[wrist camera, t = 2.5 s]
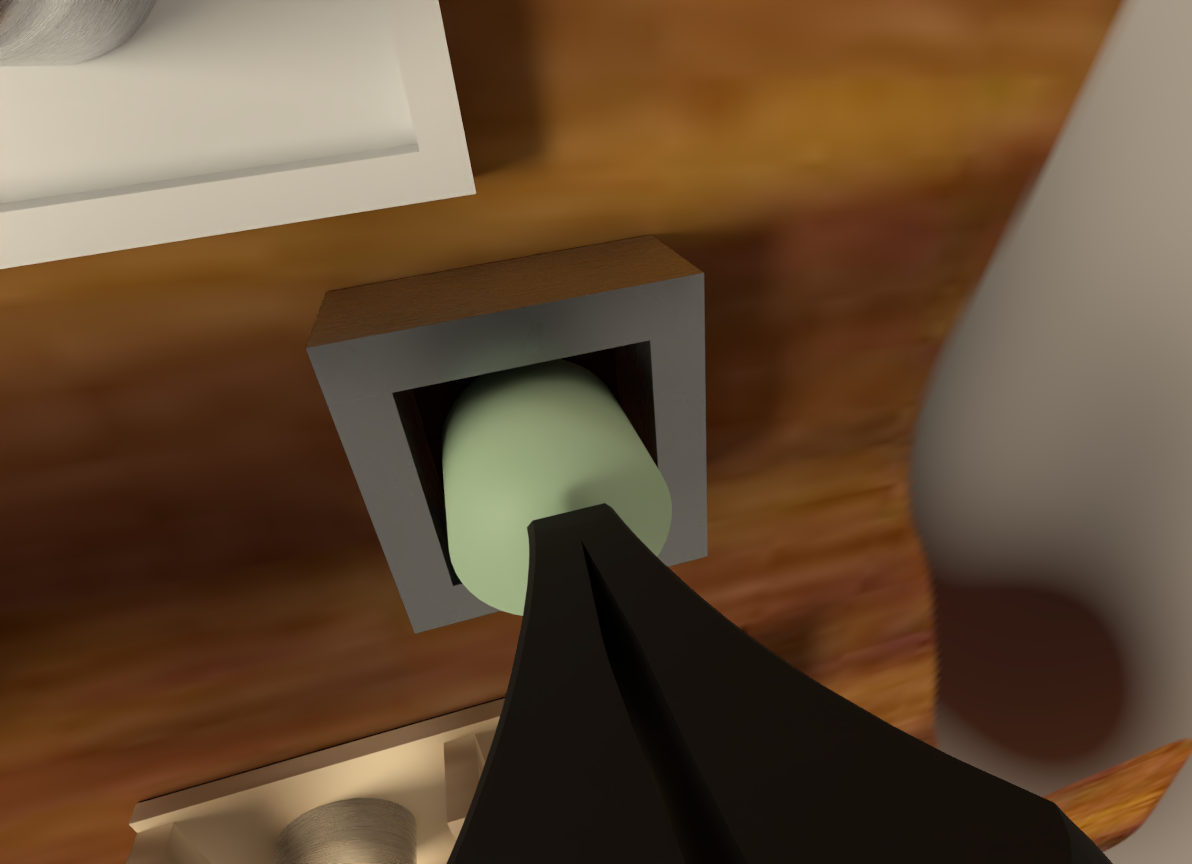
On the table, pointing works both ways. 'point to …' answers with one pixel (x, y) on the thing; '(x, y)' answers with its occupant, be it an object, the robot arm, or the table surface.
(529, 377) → the button
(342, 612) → the table surface
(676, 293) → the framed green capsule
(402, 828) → the seated billet
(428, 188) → the tray
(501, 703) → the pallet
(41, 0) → the billet
